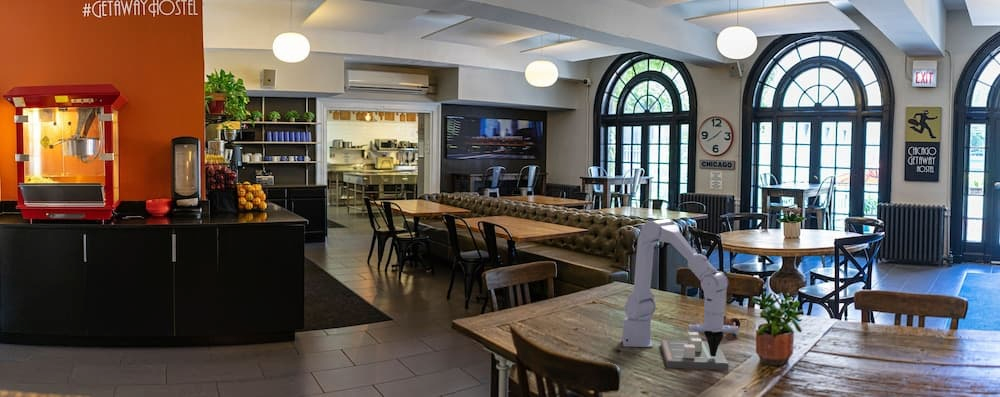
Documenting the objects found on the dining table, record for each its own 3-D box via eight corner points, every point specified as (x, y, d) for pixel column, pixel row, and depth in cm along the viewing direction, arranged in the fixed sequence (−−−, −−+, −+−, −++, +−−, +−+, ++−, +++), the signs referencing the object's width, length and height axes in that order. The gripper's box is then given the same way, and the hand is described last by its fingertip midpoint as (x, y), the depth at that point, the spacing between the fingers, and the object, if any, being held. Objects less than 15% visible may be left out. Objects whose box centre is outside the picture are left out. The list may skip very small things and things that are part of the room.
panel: (667, 367, 214) (667, 360, 214) (660, 345, 236) (660, 339, 236) (728, 369, 212) (728, 362, 212) (716, 347, 234) (716, 341, 233)
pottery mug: (724, 343, 240) (712, 321, 242) (710, 348, 248) (699, 326, 250) (750, 330, 244) (739, 308, 246) (735, 335, 252) (725, 314, 254)
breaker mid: (691, 351, 222) (692, 340, 222) (690, 348, 225) (690, 338, 225) (701, 351, 222) (701, 341, 222) (700, 348, 225) (700, 338, 225)
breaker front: (684, 358, 216) (685, 347, 216) (683, 354, 219) (683, 344, 219) (694, 358, 215) (695, 347, 215) (693, 355, 218) (693, 344, 218)
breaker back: (689, 344, 229) (689, 334, 229) (687, 341, 232) (688, 331, 232) (698, 345, 229) (698, 334, 229) (697, 342, 232) (697, 332, 232)
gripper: (691, 314, 212) (690, 358, 213) (741, 316, 210) (739, 360, 211) (688, 308, 219) (687, 351, 220) (736, 310, 217) (735, 353, 218)
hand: (712, 355), depth 216 cm, fingers closed
